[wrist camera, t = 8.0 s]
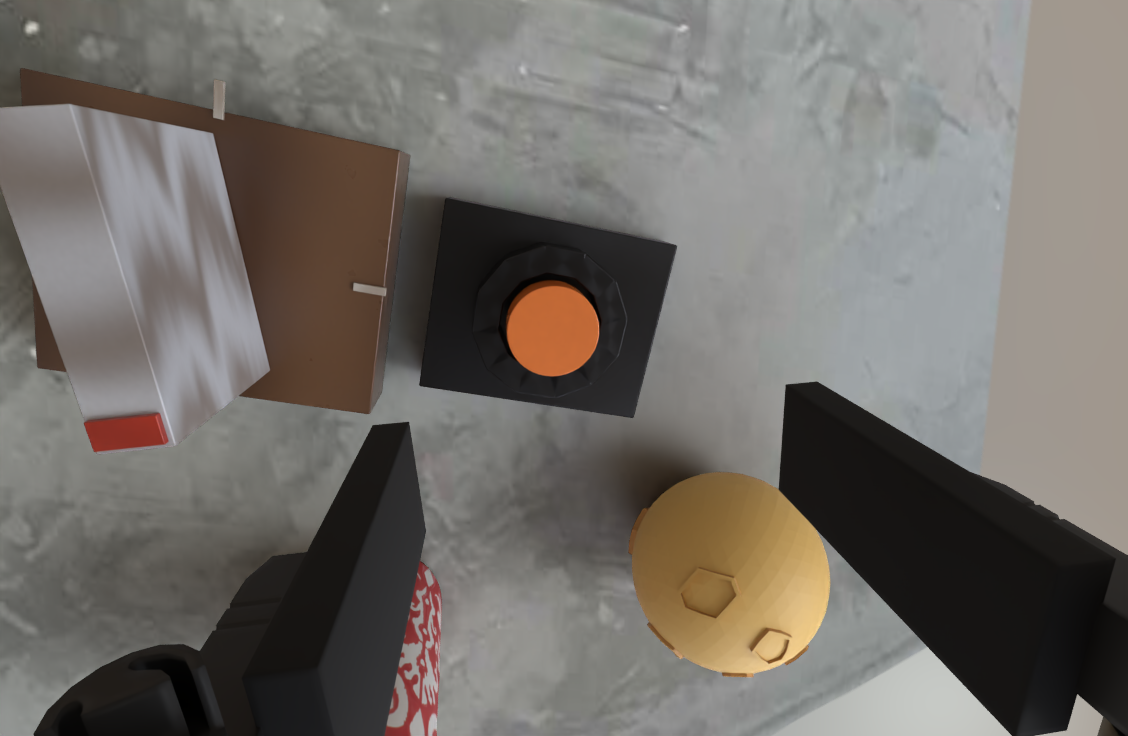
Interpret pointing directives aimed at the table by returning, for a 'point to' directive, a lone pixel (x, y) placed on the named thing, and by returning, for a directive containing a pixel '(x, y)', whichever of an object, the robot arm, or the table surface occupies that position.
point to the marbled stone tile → (133, 268)
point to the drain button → (551, 328)
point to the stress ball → (729, 573)
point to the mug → (418, 663)
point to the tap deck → (286, 240)
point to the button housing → (522, 257)
